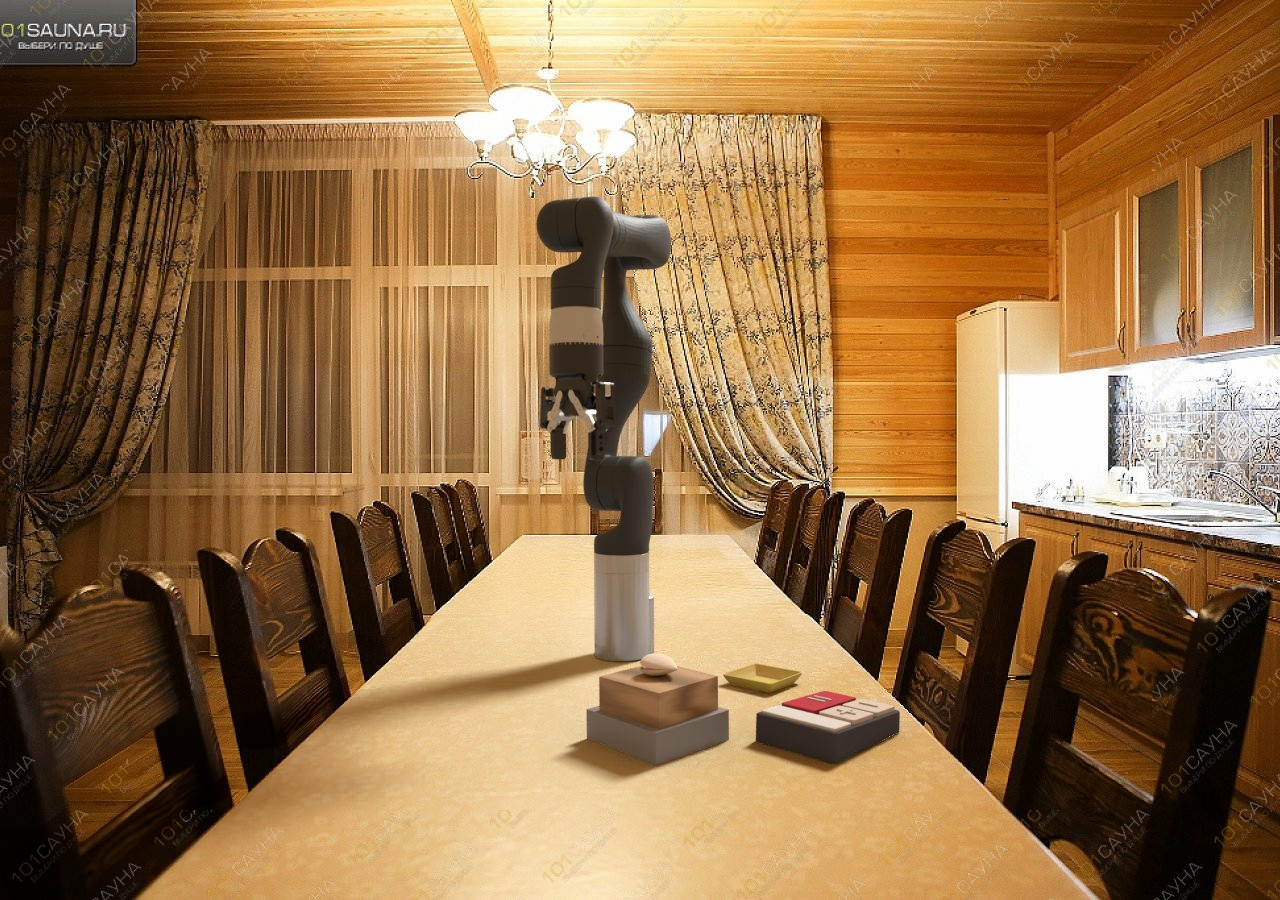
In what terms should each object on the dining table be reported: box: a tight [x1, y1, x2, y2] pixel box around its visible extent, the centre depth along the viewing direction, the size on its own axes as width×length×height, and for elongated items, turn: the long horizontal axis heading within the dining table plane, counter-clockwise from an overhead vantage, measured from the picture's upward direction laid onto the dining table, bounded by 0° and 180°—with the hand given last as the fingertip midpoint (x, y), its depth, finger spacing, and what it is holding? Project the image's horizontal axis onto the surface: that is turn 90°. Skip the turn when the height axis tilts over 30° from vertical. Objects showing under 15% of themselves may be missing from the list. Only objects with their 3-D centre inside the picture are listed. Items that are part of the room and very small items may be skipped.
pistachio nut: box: [639, 652, 678, 676], centre depth 103 cm, size 4×5×2 cm
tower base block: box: [585, 705, 730, 767], centre depth 103 cm, size 12×12×4 cm
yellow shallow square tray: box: [722, 663, 803, 694], centre depth 126 cm, size 9×9×2 cm
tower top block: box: [598, 665, 719, 729], centre depth 103 cm, size 10×10×4 cm
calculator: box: [755, 690, 901, 765], centre depth 104 cm, size 11×4×15 cm
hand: (576, 459), depth 120 cm, fingers open, 8 cm apart
